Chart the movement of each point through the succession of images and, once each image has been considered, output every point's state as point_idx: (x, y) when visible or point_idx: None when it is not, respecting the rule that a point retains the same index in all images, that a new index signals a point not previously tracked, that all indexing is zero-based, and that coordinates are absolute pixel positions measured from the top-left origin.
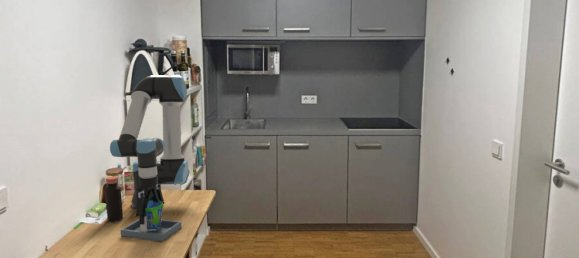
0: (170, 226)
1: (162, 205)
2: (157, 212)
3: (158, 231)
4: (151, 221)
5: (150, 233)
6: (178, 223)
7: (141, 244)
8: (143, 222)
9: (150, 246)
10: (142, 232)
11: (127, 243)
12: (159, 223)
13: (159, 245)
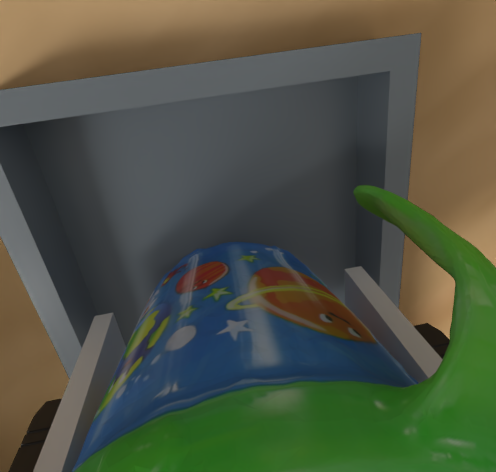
0: (58, 219)
1: (170, 468)
2: (469, 295)
3: (209, 238)
4: (344, 305)
5: (402, 196)
6: (13, 94)
7: (450, 188)
8: (431, 341)
9: (477, 87)
10: (396, 276)
11: (449, 286)
12: (226, 254)
13: (447, 15)
